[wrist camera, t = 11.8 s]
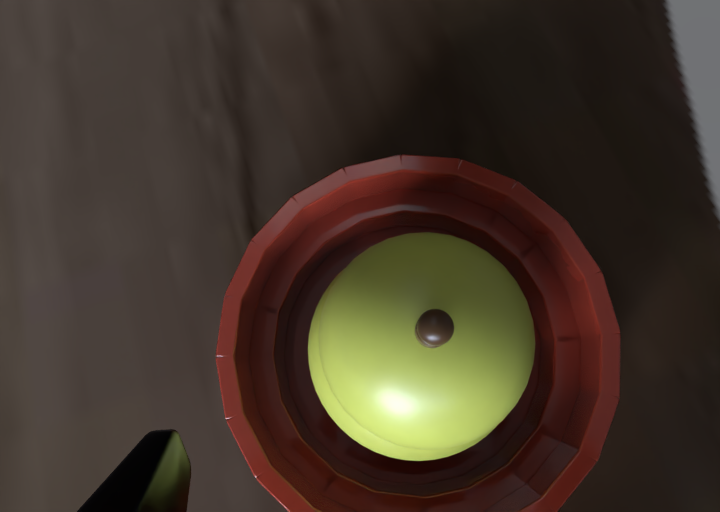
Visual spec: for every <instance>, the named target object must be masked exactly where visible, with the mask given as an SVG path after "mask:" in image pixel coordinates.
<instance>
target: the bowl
mask: <svg viewBox="0 0 720 512" xmlns="http://www.w3.org/2000/svg"><path fill="white" fill-rule="evenodd" d="M422 232H432V233H439V234H447V235H451V236H454V237H457V238H460V239H463V240H466V241H469V242H471V243H473V244H475V245H476V246H478V247H480V248H482V249H483V250H485V251H487V252H488V253H489V254H491V255H492V256H493V257H494V258H495V259H497V260H498V261H499V262H500V263H501V264H502V265H504V267H505V268H506V269H507V270H508V272H509V273H510V274H511V275H512V276H513V278H514V279H515V280H516V281H517V283H518V285H519V287H520V289H521V291H522V292H523V294H524V296H525V298H526V300H527V302H528V306H529V309H530V312H531V316H532V319H533V324H534V334H535V353H534V363H533V367H532V371H531V374H530V377H529V380H528V384H527V386H526V388H525V390H524V392H523V393H522V395H521V397H520V399H519V401H518V403H517V404H516V406H515V407H514V408H513V409H512V410H511V411H510V413H509V414H508V415H507V416H506V417H505V418H504V420H503V421H502V422H500V423H499V424H498V425H497V427H496V428H494V429H493V430H492V431H491V432H490V433H489V434H488V435H487V436H486V437H485V438H483V439H482V440H481V441H479V442H478V443H476V444H475V445H473V446H471V447H470V448H468V449H466V450H464V451H462V452H460V453H457V454H454V455H451V456H448V457H444V458H440V459H435V460H425V461H412V460H401V459H396V458H392V457H388V456H385V455H382V454H379V453H376V452H374V451H372V450H370V449H368V448H366V447H364V446H362V445H361V444H359V443H358V442H357V441H355V440H354V439H352V438H351V437H349V436H348V435H347V434H346V433H345V432H344V431H343V430H342V429H341V428H340V427H339V426H338V425H337V424H336V423H335V422H334V420H333V419H332V418H331V417H330V416H329V414H328V413H327V411H326V409H325V408H324V406H323V405H322V403H321V401H320V399H319V397H318V395H317V392H316V390H315V387H314V384H313V381H312V378H311V373H310V368H309V361H308V339H309V331H310V327H311V322H312V318H313V316H314V313H315V310H316V307H317V305H318V303H319V301H320V299H321V297H322V295H323V294H324V292H325V291H326V289H327V288H328V286H329V285H330V283H331V282H332V281H333V280H334V279H335V277H336V276H337V275H338V274H339V273H340V272H341V271H342V270H343V269H345V268H346V267H347V266H348V265H349V264H350V263H351V261H352V260H353V259H354V258H356V257H357V256H358V255H360V254H361V253H363V252H364V251H365V250H367V249H368V248H369V247H371V246H373V245H375V244H377V243H380V242H382V241H384V240H386V239H388V238H392V237H396V236H400V235H404V234H408V233H422ZM225 295H226V296H225V297H224V301H223V308H222V315H221V322H220V328H219V335H218V342H217V349H216V356H217V357H216V364H217V370H218V376H219V382H220V389H221V395H222V401H223V407H224V413H225V418H226V419H227V420H226V421H227V424H228V426H229V428H230V430H231V432H232V434H233V436H234V438H235V440H236V442H237V444H238V446H239V447H240V449H241V451H242V453H243V455H244V457H245V459H246V461H247V463H248V465H249V467H250V469H251V471H252V473H253V475H254V477H257V478H256V479H257V481H258V482H259V483H260V484H261V485H262V486H263V487H264V488H265V489H266V490H267V491H268V492H269V493H270V494H271V495H272V496H273V497H274V498H275V499H276V500H277V501H278V502H279V503H280V504H281V505H282V506H283V507H284V508H285V509H286V510H287V511H288V512H558V511H559V509H560V508H561V507H562V506H563V504H564V503H565V502H566V501H567V499H568V498H569V497H570V496H571V494H572V493H573V492H574V491H575V489H576V488H577V487H578V486H579V484H580V483H581V482H582V481H583V479H584V478H585V477H586V476H587V474H588V473H589V472H590V471H591V469H592V468H593V467H594V466H595V464H596V461H598V460H599V457H600V454H601V451H602V449H603V446H604V443H605V440H606V437H607V434H608V431H609V429H610V426H611V423H612V420H613V417H614V414H615V412H616V409H617V406H618V403H619V397H620V349H621V335H620V328H619V325H618V321H617V318H616V315H615V312H614V308H613V305H612V302H611V299H610V295H609V292H608V289H607V286H606V282H605V279H604V276H603V273H602V271H601V269H600V268H599V266H598V265H597V263H596V262H595V260H594V259H593V258H592V256H591V255H590V253H589V252H588V250H587V249H586V247H585V246H584V244H583V243H582V242H581V240H580V239H579V237H578V236H577V234H576V233H575V231H574V230H573V229H572V227H571V226H570V224H569V223H568V221H567V220H565V218H564V217H563V216H562V215H560V214H559V213H558V212H556V211H555V210H554V209H553V208H551V207H550V206H549V205H548V204H546V203H545V202H544V201H543V200H541V199H540V198H539V197H537V196H536V195H535V194H534V193H532V192H531V191H530V190H529V189H527V188H526V187H525V186H523V185H522V184H521V183H520V182H518V181H517V182H516V180H514V179H512V178H509V177H507V176H504V175H502V174H499V173H496V172H494V171H491V170H489V169H486V168H484V167H481V166H478V165H476V164H473V163H471V162H468V161H466V160H463V159H461V160H460V159H459V158H447V157H434V156H421V155H407V154H402V155H394V156H390V157H385V158H381V159H376V160H372V161H367V162H363V163H359V164H354V165H350V166H345V167H344V168H340V169H339V170H337V171H335V172H333V173H332V174H330V175H328V176H326V177H325V178H323V179H321V180H319V181H318V182H316V183H314V184H312V185H311V186H309V187H307V188H305V189H304V190H302V191H300V192H298V193H297V194H295V195H293V197H290V198H289V200H288V201H287V202H286V203H285V204H284V205H283V206H282V207H281V208H280V209H279V210H278V211H277V212H276V213H275V215H274V216H273V217H272V218H271V219H270V220H269V221H268V222H267V223H266V224H265V225H264V226H263V227H262V228H261V230H260V231H259V232H258V233H257V234H256V235H255V236H254V237H253V238H252V241H250V243H249V245H248V247H247V249H246V251H245V253H244V255H243V257H242V259H241V261H240V263H239V265H238V268H237V270H236V272H235V274H234V276H233V278H232V280H231V282H230V284H229V286H228V288H227V290H226V292H225Z"/></svg>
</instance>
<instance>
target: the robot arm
mask: <svg viewBox="0 0 720 512" xmlns="http://www.w3.org/2000/svg"><path fill="white" fill-rule="evenodd" d="M190 479H191V465H190V461H189V458H188V455H187V453H186V450H185V448H184V445H183V443H182V440H181V438H180V435H179V434H178V432H177V431H176V430H172V429H169V430H155V431H151V432H149V433H148V434H146V435H145V436H144V438H143V439H142V440H141V441H140V442H139V443H138V444H137V445H136V446H135V448H134V449H133V450H132V451H131V452H130V453H129V454H128V455H127V456H126V458H125V459H124V460H123V461H122V462H121V463H120V464H119V465H118V466H117V468H116V469H115V470H114V471H113V472H112V473H111V474H110V475H109V477H108V478H107V479H106V480H105V481H104V482H103V483H102V484H101V485H100V487H99V488H98V489H97V490H96V491H95V492H94V493H93V494H92V495H91V497H90V498H89V499H88V500H87V501H86V502H85V503H84V504H83V505H82V507H81V508H80V509H79V510H78V511H77V512H186V510H187V502H188V494H189V487H190Z"/></svg>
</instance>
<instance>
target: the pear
mask: <svg viewBox="0 0 720 512" xmlns="http://www.w3.org/2000/svg"><path fill="white" fill-rule="evenodd" d="M534 353H535V334H534V324H533V319H532V316H531V312H530V309H529V306H528V302H527V300H526V298H525V296H524V294H523V292H522V291H521V289H520V287H519V285H518V283H517V281H516V280H515V279H514V278H513V276H512V275H511V274H510V273H509V272H508V270H507V269H506V268H505V267H504V265H502V264H501V263H500V262H499V261H498V260H497V259H495V258H494V257H493V256H492V255H491V254H489V253H488V252H487V251H485V250H483V249H482V248H480V247H478V246H476V245H475V244H473V243H471V242H469V241H466V240H463V239H460V238H457V237H454V236H451V235H447V234H439V233H432V232H422V233H408V234H404V235H400V236H396V237H392V238H388V239H386V240H384V241H382V242H380V243H377V244H375V245H373V246H371V247H369V248H368V249H367V250H365V251H364V252H363V253H361V254H360V255H358V256H357V257H356V258H354V259H353V260H352V261H351V263H350V264H349V265H348V266H347V267H346V268H345V269H343V270H342V271H341V272H340V273H339V274H338V275H337V276H336V277H335V279H334V280H333V281H332V282H331V283H330V285H329V286H328V288H327V289H326V291H325V292H324V294H323V295H322V297H321V299H320V301H319V303H318V305H317V307H316V310H315V313H314V316H313V318H312V322H311V327H310V331H309V339H308V361H309V368H310V373H311V378H312V381H313V384H314V387H315V390H316V392H317V395H318V397H319V399H320V401H321V403H322V405H323V406H324V408H325V409H326V411H327V413H328V414H329V416H330V417H331V418H332V419H333V420H334V422H335V423H336V424H337V425H338V426H339V427H340V428H341V429H342V430H343V431H344V432H345V433H346V434H347V435H348V436H349V437H351V438H352V439H354V440H355V441H357V442H358V443H359V444H361V445H362V446H364V447H366V448H368V449H370V450H372V451H374V452H376V453H379V454H382V455H385V456H388V457H392V458H396V459H401V460H412V461H425V460H435V459H440V458H444V457H448V456H451V455H454V454H457V453H460V452H462V451H464V450H466V449H468V448H470V447H471V446H473V445H475V444H476V443H478V442H479V441H481V440H482V439H483V438H485V437H486V436H487V435H488V434H489V433H490V432H491V431H492V430H493V429H494V428H496V427H497V425H498V424H499V423H500V422H502V421H503V420H504V418H505V417H506V416H507V415H508V414H509V413H510V411H511V410H512V409H513V408H514V407H515V406H516V404H517V403H518V401H519V399H520V397H521V395H522V393H523V392H524V390H525V388H526V386H527V384H528V380H529V377H530V374H531V371H532V367H533V363H534Z"/></svg>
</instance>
